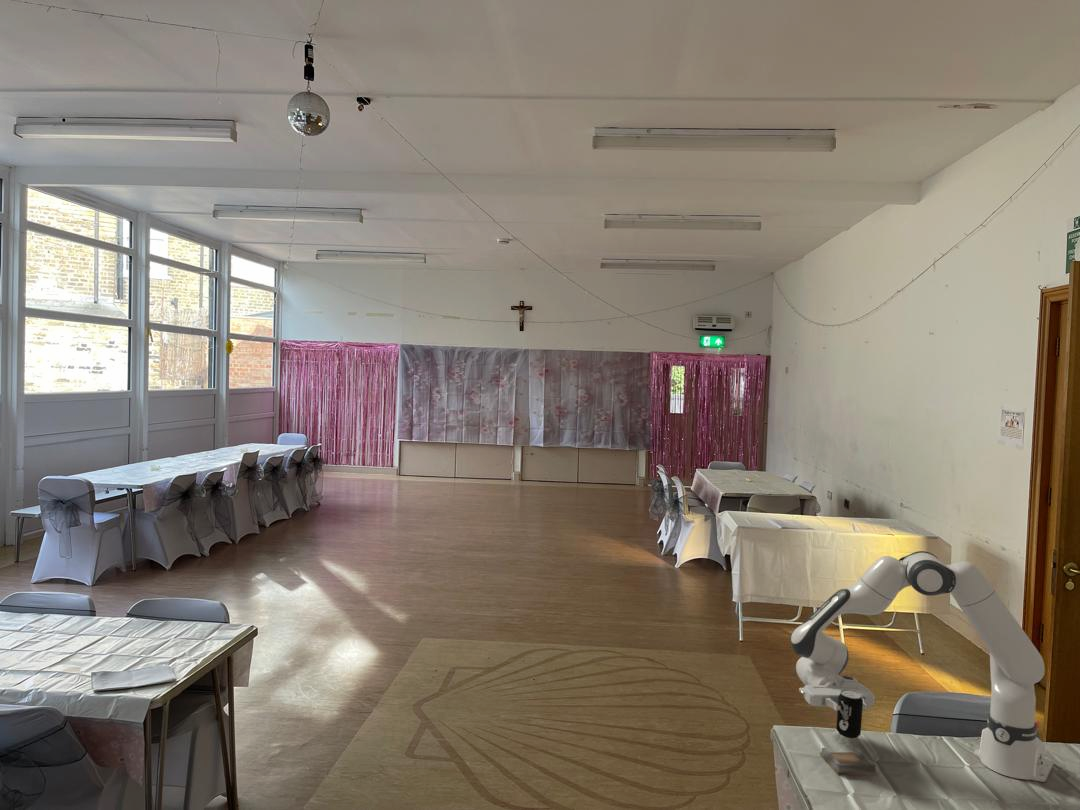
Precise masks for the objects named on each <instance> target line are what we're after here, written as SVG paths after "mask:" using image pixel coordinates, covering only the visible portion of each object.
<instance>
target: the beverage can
mask: <svg viewBox="0 0 1080 810" xmlns="http://www.w3.org/2000/svg"><path fill="white" fill-rule="evenodd" d="M861 697H862V695H861V694H860V693H859V692H856V691H854V690H849V689H844V690H841V692H840V695H839V697H838V703H839V704H840V705H841V710H840V711H836V725H835V726H836V727H835V729H836V731H837V732H838V734H839V735H841V736H843V737H845V738H848V739H857V738H859V736H861V735H862V733H861V732H862V720H863V718H862V717H863V711H862V708H863V700H862V698H861Z"/></svg>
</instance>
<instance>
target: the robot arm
mask: <svg viewBox="0 0 1080 810" xmlns="http://www.w3.org/2000/svg"><path fill="white" fill-rule="evenodd" d="M907 587H912V588H913V589H914V591H916V592H918V593H919V594H922V595H924V596H928V597H929V596H931V597H932V596H938V595H939V596H940V595H942V594H943V595H944V594H949V593H950V595H951V596H952V598H953V599H954V601H955V602H956V603H957V605H958V606H959V608H960V610H961V612H963V614H964V615H965V617H966V618H967V620H968V621H969V623H970V625H971V626H972V627H973V629H974V630H975V632H976V633H977V635H978V636H979V638H980V639H981V641H982V642H983V644H984V645H985V647H986V649H987V650H988V652H989V664H990V665H989V666H990V667H989V668H990V670H989V671H990V683H991V685H990V686H991V689H990V691H991V695H990V708H989V709H990V711H989V712H988V714H987V721H986V722H987V727H985V728H982V731H981V737H980V744H979V748H977V749H976V748H975V749H974V755H975V756H977V758H979V759H980V761H981V763H982V764H983V765H984V766H985V767H987V768H988V769H990V770H992V771H994V772H996V773H997V774H1000V775H1003V776H1006V777H1010V778H1013V779H1019V780H1028V781H1029V780H1032V781H1037V782H1042V783H1043V782H1044V783H1045V782H1046V781H1047V779H1048V777H1049V775H1050V773H1051V771H1052V768H1053V766H1054V760H1052V759H1051V758H1049V757H1048V756H1045V752H1046V749H1045V748H1046V747H1045V743H1044V742H1043V741H1041V739H1040V738H1039V737H1038V734H1037V733H1038V729H1039V727H1040V721H1038V720H1036V718H1035V717H1036V704H1037V703H1036V702H1037V697H1036V692H1035V684H1037V683H1039V682H1040V681H1041V680H1042V679H1043V677H1044V676H1045V672H1046V671H1045V670H1046V669H1045V667H1046V666H1045V663H1044V662H1045V661H1044V659H1043V656H1042V655H1041V653H1040V652H1039V651H1038V649H1037V647H1036V646H1035V645H1034V643H1033V642H1032V641H1031V639H1030V638H1029V637H1028V635H1027V633H1026V631H1024V630H1023V628H1022V626H1021V625H1020V623H1019V622H1018V621H1017V619H1016V617H1014V615H1013V613H1012V612H1011V611H1010V609H1009V608H1008V606H1007V605H1006V604H1005V602H1004V600H1003V599H1002V598H1001V596H1000V594H999V593H998V592H997V590H996V589H995V587H994V586H993V584H992V583H991V582H990V581H989V579H988V578H987V577H986V575H985V574H984V573H983V572H982V571H981V570H980V569H979V568H978V567H977V566H976V565H975V564H974V563H972V562H970V561H967V560H961V561H956V562H954V563H951V564H946V563H943V562H942V561H941V560H940V559H939V558H938V557H937V555H935V554H933V553H931V552H929V551H924V550H921V551H920V550H919V551H914V552H912V553H910V554H907V555H905V556H902V557H900V558H899V559H897V558H895V557H893V556H890V555H883V556H880V557H879V558H877V559H876V560H875V561H874V562H873V563H872V564H871V565H870V566H869V567H868V568H867V569H866V570H865V571H864V573H863V574H862V575H861V576H860V578H859V579H858V580H857V581H856V582H855V583H854V584H852V585H850V586H849V587H846V588H841V589H839V590H837V591H836V592H834V593H833V594H832V595H831V596H830V597H829V598H828V599H827V600H826V601H825V602H823V604H821V606H819V608H818V609H816V610H815V611H814V612H813V614H811V615H810V616H809V618H807V619H806V620H804V621H803V622H802V623H801V624H799V625H798V626H796V627H795V628H794V629H793V631H792V632H791V635H790V645H791V648H792V650H793V652H794V653H795V654H796V655H797V656H800V658H798V660H797V662H796V664H795V671H796V675H797V677H798V678H799V680H800V681H801V682H802V684H804V685H803V686H801V687H799V688H798V691H799V693H801V694H802V695H803V698H804V699H805V701H806V702H807V703H808V704H809V705H810V706H813V707H828V708H831V709H833V710H834V711H836V712H837V711H840V710H841V705H840V704H839V703H838V697H839V695H840V692H841V690H844V689H849V690H854V691H856V692H859V693H860V694H861V695H862V697H861V698H862V700H863V708H862V712H864V711H865V712H867V710H868V707H873V706H874V704H875V694H874V693H873V691H872V690H871V689H869V688H867V686H865V685H863V684H862V683H859V682H858V679H857V678H856V677H851V676H846V675H841V674H842V673H843V672H844V671H845V670H846V669H847V666H848V664H849V659H850V658H849V656H850V655H849V650H848V647H847V645H846V644H845V643H844V642H842V641H840V640H838V639H837V638H834V637H833V636H830V635H828V634H826V633H825V632H823V631H824V630H825V629H826V628H827V627H828V626H829V625H830V624H831V623H832V622H834V620H836V619H837V618H838V617H839V616H841V615H844V614H857V615H858V614H859V615H864V616H875V615H880V614H882V613H883V612H885V611H886V610H887V609H888V607H890V605H891V604H892V603H893V601H894V600H895V599H896V597H897V595H898V594H899V593H900V592H901V591H902V590H904V589H905V588H907Z"/></svg>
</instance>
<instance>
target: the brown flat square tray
mask: <svg viewBox="0 0 1080 810" xmlns="http://www.w3.org/2000/svg"><path fill="white" fill-rule="evenodd" d="M819 756H820V757H821V758H822V759H823V761H825V762H826V764H827V765H828V764H829V765H828V766H829V767H830V768H831V769H832V770H833V771H834V772H835V773H836V774H837V776H868V775H867V774H875V775H876V764H875V763H874V762H873V760H871V759H870V758H868V757H867V755H866V754H865V753H863V752H862V751H861V749H860V748H859V747H857V746H856V747H853V751H852V752H850V751H849V752H847V751H846V752H845V751H844V752H843V751H841V752H837V751H836V752H830V751H829V750H828V749H827V747H821V752H820V753H819Z"/></svg>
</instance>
